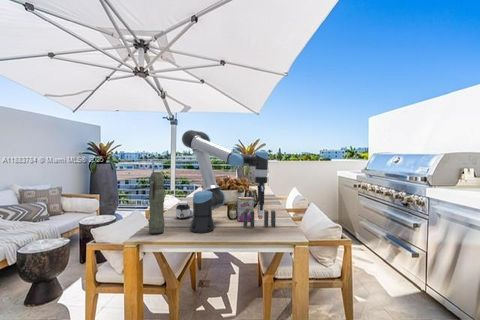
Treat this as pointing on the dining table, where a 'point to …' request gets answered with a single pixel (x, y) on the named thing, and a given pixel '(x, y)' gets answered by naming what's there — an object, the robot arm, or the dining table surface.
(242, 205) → the candy bar box
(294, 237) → the dining table surface
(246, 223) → the domino
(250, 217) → the domino
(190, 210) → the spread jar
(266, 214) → the domino
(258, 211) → the domino
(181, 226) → the dining table surface
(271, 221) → the domino
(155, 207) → the thermos
